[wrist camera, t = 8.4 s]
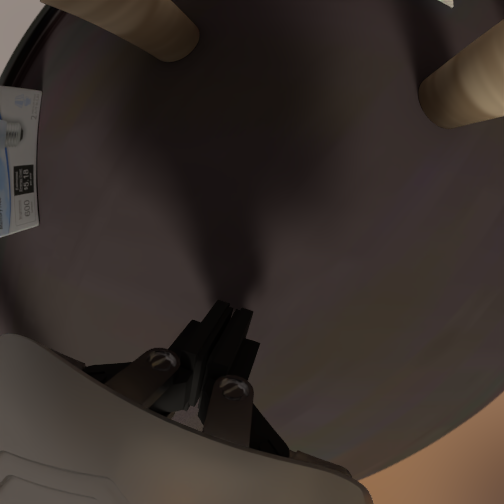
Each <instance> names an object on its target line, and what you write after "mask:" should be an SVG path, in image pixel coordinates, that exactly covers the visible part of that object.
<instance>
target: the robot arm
mask: <svg viewBox="0 0 504 504" xmlns="http://www.w3.org/2000/svg"><path fill="white" fill-rule="evenodd" d="M229 306H230V303H227V302H224V301H221V300H217V302H216V303H215V304H214V306H213V307H212V308H211V310H210V311H209V313H208V314H207V315H206V317H205V318H204V319H203V321H202V322H201V323H200V322H198V321H195V320H192V321H190V323H189V324H188V325H187V326H186V328H185V329H184V330H183V331H182V333H181V334H180V335H179V336H178V338H177V339H176V340H175V341H174V342H173V344H172V345H171V346H170V347H169V349H165V348H153V349H150V350H148V351H146V352H145V353H144V354H142V355H141V356H140V357H139V358H137V359H136V360H135V361H133V362H128V363H117V364H103V365H92V366H88V367H86V366H85V363H83V362H80V361H78V360H75V359H73V358H70V357H68V356H66V355H63V354H61V353H59V352H57V351H54V350H52V349H49V348H47V347H46V346H44V345H42V344H40V343H39V342H37V341H34V340H32V339H30V338H28V337H25V336H22V335H18V334H12V333H10V334H4V335H1V336H0V504H373V500H372V497H371V495H370V493H369V491H368V490H367V489H366V488H365V487H364V486H363V485H362V484H361V483H359V482H358V481H356V480H355V479H353V478H352V476H351V474H350V472H349V471H348V470H347V469H346V468H344V467H342V466H339V465H336V464H333V463H330V462H327V461H324V460H322V459H319V458H316V457H314V456H311V455H308V454H306V453H303V452H301V451H297V452H294V451H292V450H289V448H288V446H287V445H286V443H285V442H284V441H283V440H282V439H281V437H280V436H279V435H278V434H277V433H276V431H275V430H274V429H273V428H272V427H271V425H270V424H269V423H268V422H267V420H266V419H265V418H264V417H263V415H262V414H261V413H260V412H259V410H258V409H257V408H256V406H255V405H254V404H253V397H254V391H253V387H252V386H251V384H250V383H249V382H248V378H249V375H250V372H251V369H252V366H253V363H254V360H255V357H256V354H257V351H258V348H259V345H260V343H258V342H255V341H252V340H249V339H246V335H247V332H248V328H249V325H250V322H251V318H252V315H253V311H251V310H248V309H244V308H241V310H238V309H236V310H235V312H234V314H233V316H232V318H231V315H232V311H233V308H232V307H229ZM199 397H200V399H199ZM198 399H199V404H198V408H199V412H198V417H199V419H200V420H201V422H202V424H203V425H204V427H203V431H202V432H201V431H198V430H195V429H193V428H190V427H188V426H186V425H183V424H181V423H178V422H176V421H174V420H171V418H172V417H173V416H174V414H175V411H179V410H185V411H187V410H188V408H189V407H190V405H191V406H195V405H196V403H197V401H198Z"/></svg>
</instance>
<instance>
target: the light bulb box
mask: <svg viewBox="0 0 504 504" xmlns="http://www.w3.org/2000/svg"><path fill="white" fill-rule="evenodd" d="M41 97H42V91H38V90H32V89H25V88H16V87H7V86H0V238H1V237H4V236H7V235H10V234H13V233H16V232H19V231H22V230H26V229H29V228H32V227H36V226H38V225H39V217H38V206H37V187H36V154H37V134H38V122H39V113H40V105H41Z"/></svg>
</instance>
